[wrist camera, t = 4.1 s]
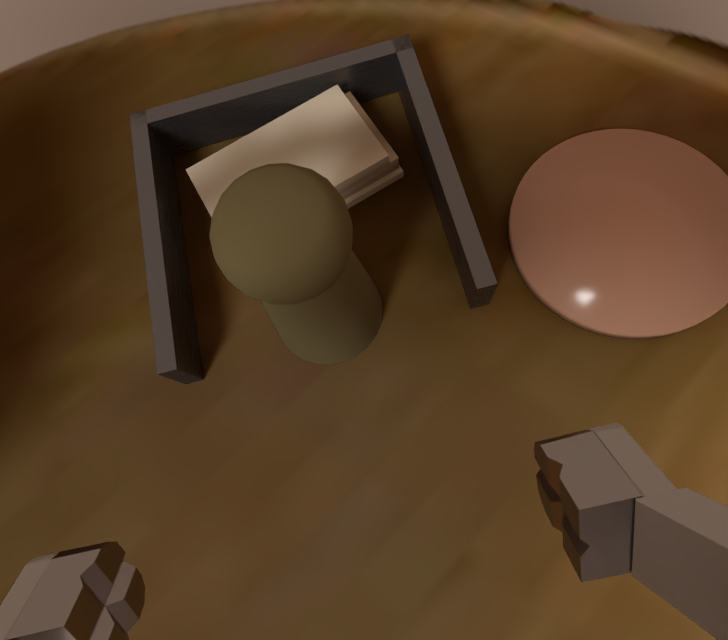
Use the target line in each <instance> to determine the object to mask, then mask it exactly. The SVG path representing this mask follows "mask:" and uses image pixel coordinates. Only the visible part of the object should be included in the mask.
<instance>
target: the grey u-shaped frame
mask: <svg viewBox="0 0 728 640" xmlns="http://www.w3.org/2000/svg"><path fill="white" fill-rule="evenodd" d="M335 85H338V86H339V88H340V89H341V90H342V92H343V93H344V94H346V93H348V92H351V94H352V95H353V96H354V98H355V99H356V100H357V102H358V103H359V102H362V101H366V100H369V99H373V98H377V97H380V96H384V95H387V94H391V93H394V92H398V91H399V94H400V97H401V100H402V103H403V106H404V109H405V112H406V115H407V118H408V121H409V124H410V127H411V130H412V134H413V137H414V140H415V143H416V146H417V149H418V152H419V155H420V158H421V161H422V164H423V167H424V170H425V173H426V176H427V179H428V182H429V185H430V188H431V191H432V194H433V197H434V200H435V203H436V206H437V209H438V212H439V215H440V218H441V221H442V224H443V227H444V230H445V233H446V236H447V239H448V242H449V245H450V248H451V251H452V254H453V257H454V260H455V263H456V266H457V269H458V272H459V275H460V278H461V281H462V284H463V287H464V290H465V293H466V296H467V299H468V302H469V305H470V308H475V307H479V306H482V305H486V304H489V302H490V300H491V297H492V295H493V293H494V291H495V288H496V286H497V281H496V278H495V275H494V272H493V270H492V267H491V264H490V261H489V258H488V256H487V253H486V250H485V247H484V244H483V242H482V239H481V236H480V233H479V230H478V228H477V225H476V222H475V219H474V216H473V214H472V211H471V208H470V205H469V202H468V200H467V197H466V194H465V191H464V188H463V186H462V183H461V180H460V177H459V174H458V172H457V169H456V166H455V163H454V160H453V157H452V155H451V152H450V149H449V146H448V143H447V141H446V138H445V135H444V132H443V129H442V127H441V124H440V121H439V118H438V115H437V113H436V110H435V107H434V104H433V101H432V99H431V96H430V93H429V90H428V87H427V85H426V82H425V79H424V76H423V73H422V71H421V68H420V65H419V62H418V59H417V57H416V54H415V51H414V48H413V45H412V43H411V40H410V37H409V35H405V36H402V37H398V38H395V39H391V40H388V41H384V42H381V43H377V44H374V45H370V46H367V47H363V48H360V49H356V50H353V51H349V52H346V53H342V54H339V55H336V56H332V57H329V58H325V59H322V60H318V61H315V62H311V63H308V64H304V65H301V66H297V67H294V68H290V69H287V70H283V71H280V72H276V73H273V74H269V75H266V76H262V77H259V78H255V79H252V80H248V81H245V82H241V83H238V84H234V85H231V86H227V87H224V88H220V89H217V90H213V91H210V92H207V93H203V94H200V95H196V96H193V97H189V98H186V99H182V100H179V101H175V102H172V103H168V104H165V105H161V106H158V107H154V108H151V109H147V110H144V111H140V112H137V113H133V114H130V115H129V116H130V125H131V135H132V144H133V153H134V162H135V172H136V181H137V190H138V200H139V209H140V218H141V228H142V237H143V246H144V256H145V265H146V274H147V284H148V293H149V302H150V312H151V321H152V330H153V340H154V349H155V358H156V368H157V374H158V375H161V376H163V377H166V378H169V379H172V380H175V381H178V382H181V383H184V384H188V383H192V382H196V381H200V380H203V374H202V366H201V359H200V352H199V345H198V337H197V330H196V323H195V316H194V308H193V301H192V294H191V286H190V279H189V272H188V265H187V257H186V250H185V243H184V236H183V228H182V221H181V214H180V207H179V199H178V192H177V185H176V177H175V170H174V163H173V156H172V155H175V154H179V153H182V152H186V151H189V150H193V149H196V148H200V147H203V146H207V145H210V144H214V143H217V142H221V141H225V140H228V139H232V138H235V137H239V136H242V135H246V134H249V133H252V132H253V131H255V130H257V129H259V128H260V127H262V126H264V125H266V124H268V123H269V122H271V121H273V120H275V119H276V118H278V117H280V116H282V115H284V114H285V113H287V112H289V111H291V110H292V109H294V108H296V107H298V106H300V105H301V104H303V103H305V102H307V101H308V100H310V99H312V98H314V97H316V96H317V95H319V94H321V93H323V92H324V91H326V90H328V89H330V88H332V87H333V86H335Z"/></svg>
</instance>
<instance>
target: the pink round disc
mask: <svg viewBox="0 0 728 640" xmlns="http://www.w3.org/2000/svg"><path fill="white" fill-rule="evenodd" d="M508 242H509V247H510V252H511V255H512V258H513V261H514V264H515V266H516V268H517V270H518V272H519V274H520V276H521V278H522V279H523V281H524V282H525V284H526V285H527V286H528V288H529V289H530V290H531V292H532V293H533V294H534V295H535V296H536V297H537V298H538V299H539V300H540V301H541V302H542V303H543V304H544V305H545V306H546V307H548V308H549V309H550V310H551V311H552V312H554V313H555V314H557V315H558V316H560V317H561V318H563V319H564V320H566V321H568V322H570V323H572V324H574V325H576V326H578V327H580V328H583V329H585V330H588V331H591V332H593V333H597V334H601V335H605V336H609V337H616V338H623V339H649V338H658V337H663V336H667V335H671V334H675V333H677V332H680V331H683V330H685V329H688V328H690V327H692V326H694V325H696V324H698V323H700V322H702V321H704V320H705V319H707V318H709V317H711V316H712V315H714V314H715V313H716V312H718V311H719V310H720V309H721V308H723V307H724V306H725V305H726V304H727V303H728V176H727V175H726V174H725V173H724V172H723V171H722V170H721V168H720V167H718V166H717V165H716V164H715V163H714V162H713V161H711V160H710V159H709V158H708V157H706V156H705V155H703V154H702V153H700V152H699V151H697V150H696V149H694V148H692V147H690V146H688V145H687V144H685V143H683V142H681V141H678V140H675V139H673V138H670V137H668V136H665V135H661V134H657V133H654V132H649V131H643V130H636V129H605V130H598V131H592V132H588V133H585V134H581V135H578V136H575V137H573V138H570V139H567V140H565V141H564V142H562V143H560V144H558V145H556V146H554V147H553V148H551V149H550V150H549V151H547V152H546V153H544V154H543V155H542V156H541V157H540V158H539V159H538V160H537V161H535V162H534V164H533V165H532V166H531V167H530V168H529V170H528V171H527V172H526V173H525V175H524V177H523V178H522V180H521V182H520V183H519V186H518V188H517V190H516V193H515V195H514V198H513V201H512V204H511V208H510V212H509V217H508Z"/></svg>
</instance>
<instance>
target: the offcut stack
mask: <svg viewBox="0 0 728 640" xmlns="http://www.w3.org/2000/svg"><path fill="white" fill-rule="evenodd" d="M277 163H289V164H293V165H297V166H301V167H305V168H309V169H312V170H314V171H315V172H317V173H319V174H320V175H322V176H323V177H325V178H327V179H328V180H329V181H330V182H331V184H332V185H333V186H334V187H335V188H336V190H337V191H338V192H339V193H340V195H341V196H342V197H343V198H344V200H345V202H346V205H347V208H348V209H349V208H350V207H352V206H354V205H356V204H357V203H359V202H361V201H362V200H364V199H366V198H368V197H369V196H371V195H373V194H375V193H376V192H378V191H380V190H381V189H383V188H385V187H387V186H388V185H390V184H392V183H394V182H395V181H397V180H399V179H400V178H402V177H404V171H403V169H402V168H401V167H400V165H399V157H398V156H397V155H396V153H395V152H394V150H393V149H392V148H391V146H390V145H389V144H388V142H387V141H386V140H385V138H384V137H383V136H382V134H381V133H380V131H379V130H378V129H377V127H376V126H375V125H374V123H373V122H372V121H371V119H370V118H369V117H368V115H367V114H366V113H365V111H364V110H363V108H362V107H361V106H360V104H359V103H358V102H357V100H356V99H355V98H354V96H353V95H352V94H351V92H348V93H346V94H344V93H343V92H342V90H341V89H340V88H339V86H338V85H335V86H333V87H332V88H330V89H328V90H326V91H324V92H323V93H321V94H319V95H317V96H316V97H314V98H312V99H310V100H308V101H307V102H305V103H303V104H301V105H300V106H298V107H296V108H294V109H292V110H291V111H289V112H287V113H285V114H284V115H282V116H280V117H278V118H276V119H275V120H273V121H271V122H269V123H268V124H266V125H264V126H262V127H260V128H259V129H257V130H255V131H253V132H252V133H250V134H248V135H246V136H244V137H243V138H241V139H239V140H237V141H236V142H234V143H232V144H230V145H228V146H227V147H225V148H223V149H221V150H220V151H218V152H216V153H214V154H212V155H211V156H209V157H207V158H205V159H204V160H202V161H200V162H198V163H196V164H195V165H193V166H191V167H189V168H188V169H186V171H187V173H188V175H189V177H190V179H191V181H192V182H193V184H194V186H195V188H196V190H197V192H198V194H199V195H200V197H201V199H202V201H203V203H204V205H205V206H206V208H207V210H208V212H209V214H210V216H211V217H212V215H213V212H214V209H215V207H216V205H217V203H218V201H219V199H220V197H221V195H222V193H223V192H224V191H225V190H226V189H227V188H228V187H229V185H230V184H231V183H232V182H233V181H234V180H235V179H237V178H238V177H240V176H241V175H243V174H245V173H246V172H248V171H249V170H251V169H254V168H257V167H260V166H263V165H266V164H277Z"/></svg>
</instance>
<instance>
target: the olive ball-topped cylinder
mask: <svg viewBox="0 0 728 640" xmlns="http://www.w3.org/2000/svg"><path fill="white" fill-rule="evenodd" d="M209 237H210V241H211V246H212V251H213V255H214V258H215V261H216V263H217V265H218V266H219V268H220V269H221V271H222V272H223V274H224V276H225V277H226V279H227V280H228V281H229V282H230V283H231V284H233V285H234V286H235V287H236V288H238V289H239V290H240V291H242V292H243V293H244V294H246V295H247V296H248V297H250V298H254V299H257V300H260V301H261V302H262V304H263V305H264V307H265V309H266V311H267V313H268V315H269V317H270V319H271V321H272V323H273V325H274V327H275V329H276V331H277V333H278V334H279V336H280V338H281V339H282V341H283V342H284V344H285V345H286V347H287V348H288V349H289V350H290V351H291V352H292V353H294V354H295V355H296V356H298V357H299V358H300V359H302V360H305V361H308V362H311V363H314V364H337V363H340V362H344V361H347V360H350V359H352V358H353V357H355V356H356V355H358V354H359V353H361V352H362V351H363V350H365V349H366V348H367V347H368V345H369V344H370V343H371V341H372V340H373V339H374V337H375V336H376V334H377V332H378V329H379V326H380V323H381V320H382V301H381V298H380V295H379V291H378V288H377V286H376V285H375V283H374V282H373V280H372V279H371V277H370V276H369V274H368V273H367V271H366V270H365V269H364V267H363V266H362V264H361V263H360V261H359V260H358V258H357V257H356V255H355V254H354V252H353V251H352V244H353V225H352V220H351V217H350V214H349V211H348V208H347V205H346V202H345V200H344V198H343V197H342V196H341V195H340V193H339V192H338V191H337V190H336V188H335V187H334V186H333V185H332V184H331V182H330V181H329V180H328V179H327V178H325V177H323V176H322V175H320V174H319V173H317V172H315V171H314V170H312V169H309V168H305V167H301V166H297V165H293V164H289V163H277V164H266V165H263V166H260V167H257V168H254V169H251V170H249V171H248V172H246V173H245V174H243V175H241V176H240V177H238V178H237V179H235V180H234V181H233V182H232V183H231V184H230V185H229V187H228V188H227V189H226V190H225V191H224V192H223V193H222V195H221V197H220V199H219V201H218V203H217V205H216V207H215V209H214V212H213V215H212V220H211V227H210V235H209Z"/></svg>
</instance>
